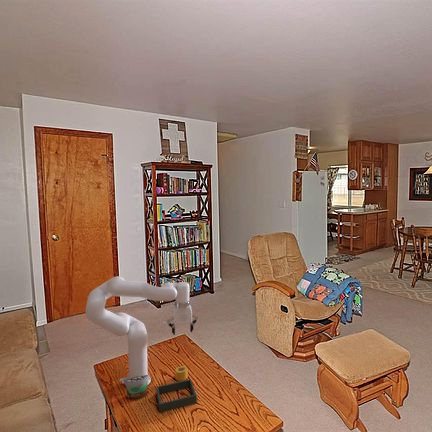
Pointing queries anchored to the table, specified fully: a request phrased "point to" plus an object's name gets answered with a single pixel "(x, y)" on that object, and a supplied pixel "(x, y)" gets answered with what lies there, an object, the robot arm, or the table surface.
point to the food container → (136, 387)
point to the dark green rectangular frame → (177, 402)
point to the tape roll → (181, 373)
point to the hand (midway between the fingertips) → (182, 332)
